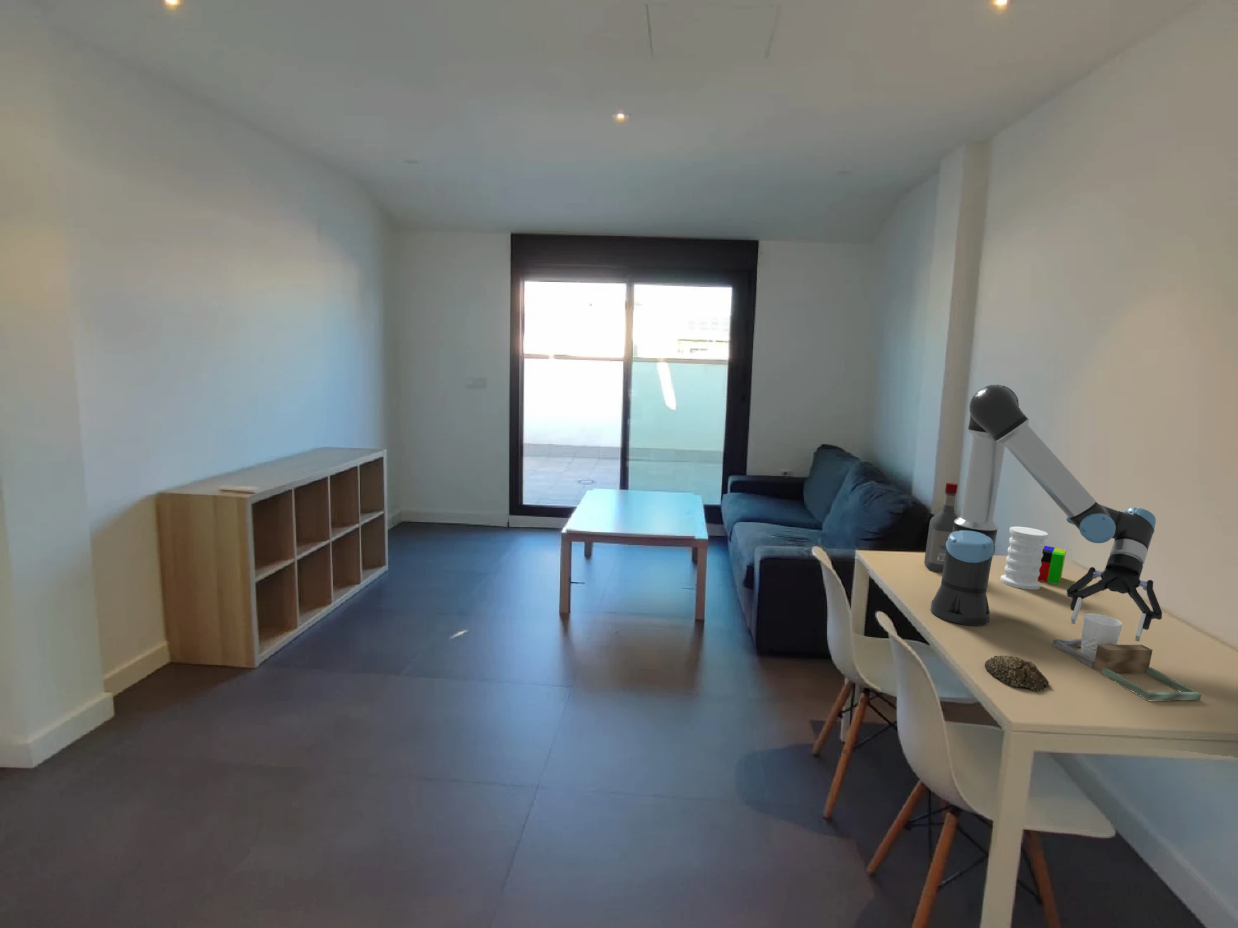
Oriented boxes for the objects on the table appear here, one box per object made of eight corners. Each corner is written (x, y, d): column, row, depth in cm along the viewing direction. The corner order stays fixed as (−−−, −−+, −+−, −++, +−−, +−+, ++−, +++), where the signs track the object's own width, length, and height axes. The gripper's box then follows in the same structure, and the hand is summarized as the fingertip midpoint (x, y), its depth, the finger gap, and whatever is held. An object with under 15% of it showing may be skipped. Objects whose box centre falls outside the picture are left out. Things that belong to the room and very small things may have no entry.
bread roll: (978, 663, 171) (981, 644, 170) (1032, 669, 170) (1035, 649, 169) (1000, 689, 159) (1004, 668, 158) (1059, 695, 158) (1063, 674, 157)
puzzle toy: (1028, 570, 251) (1032, 543, 249) (1061, 577, 245) (1066, 549, 243) (1024, 577, 243) (1029, 549, 241) (1058, 584, 237) (1063, 555, 235)
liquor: (957, 574, 240) (970, 487, 235) (928, 571, 242) (941, 484, 237) (949, 566, 249) (962, 482, 244) (922, 563, 251) (934, 480, 246)
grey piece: (1148, 701, 157) (1153, 675, 156) (1052, 644, 185) (1056, 623, 184) (1200, 700, 158) (1205, 675, 157) (1097, 644, 187) (1101, 623, 186)
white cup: (1113, 667, 174) (1121, 628, 172) (1075, 656, 178) (1082, 619, 176) (1115, 656, 180) (1123, 619, 178) (1079, 647, 184) (1085, 610, 183)
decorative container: (1048, 589, 231) (1057, 535, 228) (1020, 590, 228) (1029, 536, 225) (1019, 577, 242) (1028, 525, 239) (992, 578, 239) (1000, 526, 236)
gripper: (1185, 581, 180) (1165, 653, 172) (1071, 556, 197) (1049, 621, 189) (1187, 565, 175) (1166, 638, 167) (1070, 541, 192) (1047, 607, 184)
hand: (1104, 629), depth 178 cm, fingers open, 13 cm apart
